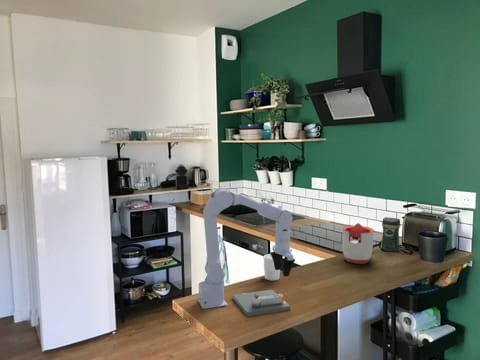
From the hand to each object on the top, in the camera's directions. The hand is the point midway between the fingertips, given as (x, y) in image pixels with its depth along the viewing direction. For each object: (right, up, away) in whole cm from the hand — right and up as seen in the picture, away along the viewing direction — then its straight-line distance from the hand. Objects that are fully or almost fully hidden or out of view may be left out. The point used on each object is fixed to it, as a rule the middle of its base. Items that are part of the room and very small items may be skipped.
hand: (281, 272), depth 155 cm
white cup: (-2, -8, +23) cm, 24 cm away
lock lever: (-6, -9, -10) cm, 15 cm away
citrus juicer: (+44, -6, +47) cm, 64 cm away
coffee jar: (+69, -3, +68) cm, 97 cm away
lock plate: (-9, -11, -5) cm, 15 cm away
